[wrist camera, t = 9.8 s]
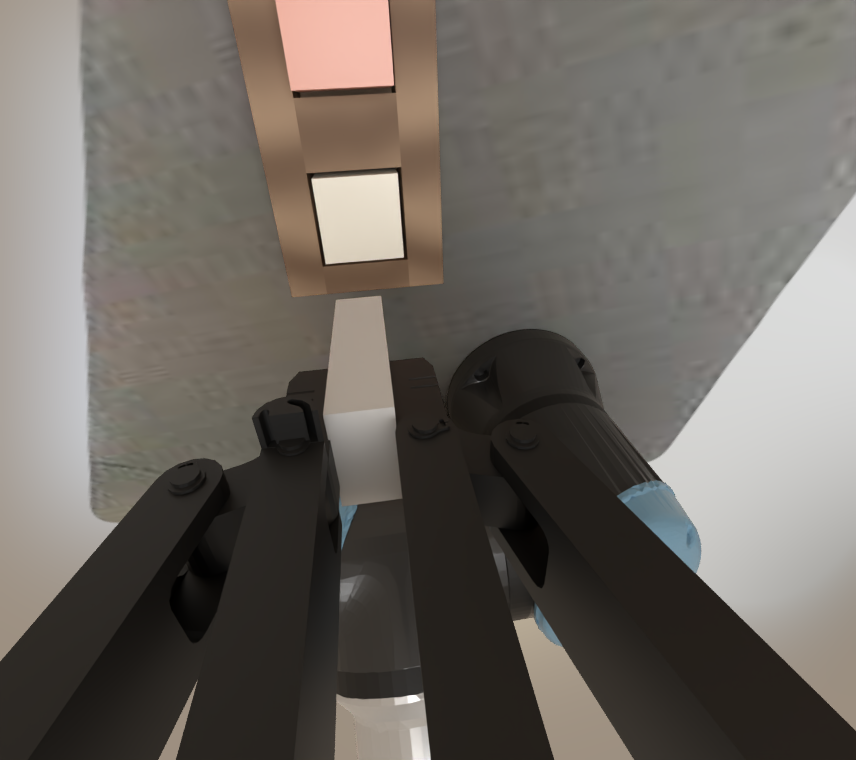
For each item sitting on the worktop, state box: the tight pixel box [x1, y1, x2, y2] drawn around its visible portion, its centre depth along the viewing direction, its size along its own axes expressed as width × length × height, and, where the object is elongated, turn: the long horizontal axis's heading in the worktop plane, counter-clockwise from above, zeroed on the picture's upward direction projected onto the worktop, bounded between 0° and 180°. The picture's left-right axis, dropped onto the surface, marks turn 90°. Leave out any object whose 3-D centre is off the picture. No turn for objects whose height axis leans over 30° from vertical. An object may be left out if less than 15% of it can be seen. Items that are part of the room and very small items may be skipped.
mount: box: [227, 0, 443, 297], centre depth 27 cm, size 30×11×6 cm, turn 3°
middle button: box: [275, 0, 394, 92], centre depth 24 cm, size 5×5×4 cm
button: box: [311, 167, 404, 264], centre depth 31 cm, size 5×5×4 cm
